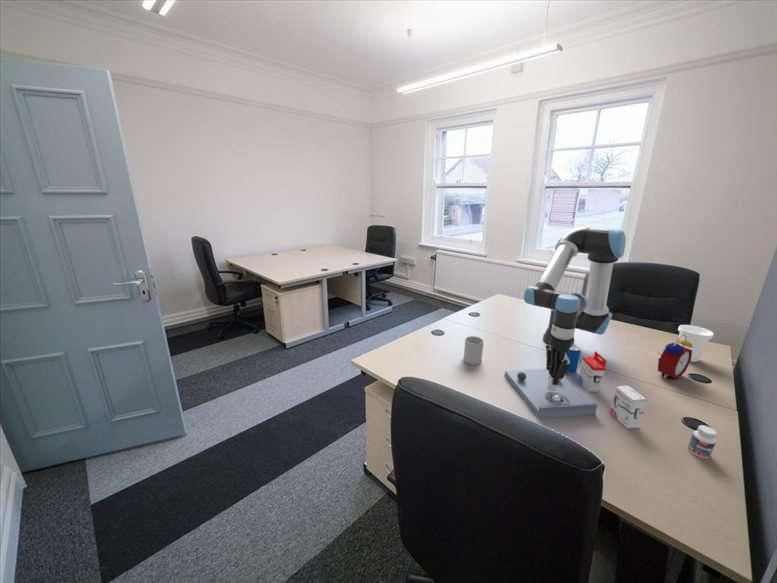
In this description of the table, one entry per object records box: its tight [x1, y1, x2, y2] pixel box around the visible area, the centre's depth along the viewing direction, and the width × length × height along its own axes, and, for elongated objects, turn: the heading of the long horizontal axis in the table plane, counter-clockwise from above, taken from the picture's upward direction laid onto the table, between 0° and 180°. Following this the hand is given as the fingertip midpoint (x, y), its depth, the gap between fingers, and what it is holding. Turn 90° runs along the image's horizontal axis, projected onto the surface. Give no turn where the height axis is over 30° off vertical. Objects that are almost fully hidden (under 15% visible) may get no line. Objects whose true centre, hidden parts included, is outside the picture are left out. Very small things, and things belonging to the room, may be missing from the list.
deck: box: [504, 368, 598, 419], centre depth 130 cm, size 28×22×4 cm
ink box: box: [609, 385, 648, 429], centre depth 114 cm, size 9×5×12 cm, turn 5°
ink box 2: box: [577, 351, 607, 393], centre depth 134 cm, size 8×5×15 cm, turn 178°
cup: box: [677, 324, 715, 363], centre depth 156 cm, size 12×12×15 cm
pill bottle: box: [687, 424, 717, 459], centre depth 101 cm, size 5×5×9 cm
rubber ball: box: [517, 372, 526, 381], centre depth 135 cm, size 4×4×4 cm
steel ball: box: [551, 395, 561, 403], centre depth 124 cm, size 4×4×4 cm
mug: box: [463, 335, 484, 366], centre depth 156 cm, size 12×8×11 cm
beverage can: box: [566, 344, 582, 375], centre depth 145 cm, size 6×6×12 cm
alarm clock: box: [657, 335, 693, 379], centre depth 142 cm, size 15×9×20 cm, turn 117°
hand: (551, 389), depth 127 cm, fingers closed
